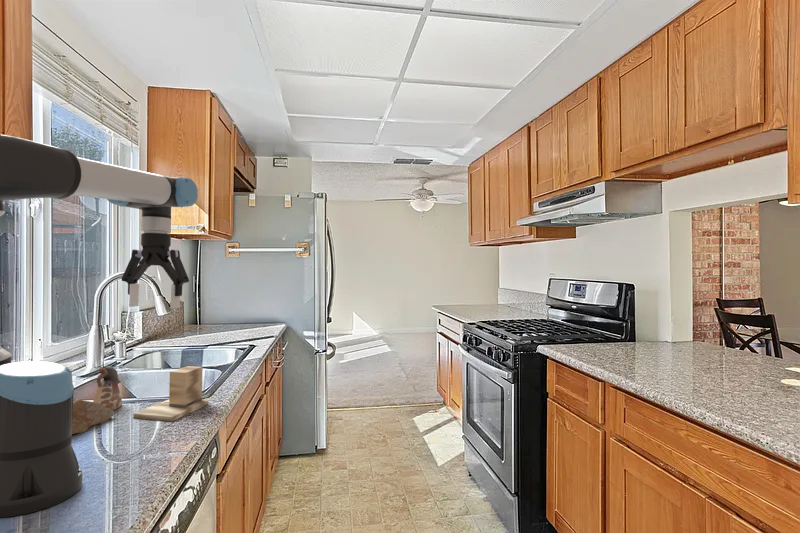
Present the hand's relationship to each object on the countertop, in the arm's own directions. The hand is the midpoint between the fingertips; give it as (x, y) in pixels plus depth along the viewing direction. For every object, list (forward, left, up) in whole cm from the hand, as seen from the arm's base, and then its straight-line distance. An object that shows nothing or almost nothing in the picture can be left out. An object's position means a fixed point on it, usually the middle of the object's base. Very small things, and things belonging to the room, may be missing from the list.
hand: (154, 307), depth 130 cm
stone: (-15, +9, -30) cm, 35 cm away
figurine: (+1, +16, -30) cm, 34 cm away
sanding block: (+6, -6, -29) cm, 30 cm away
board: (+2, -5, -30) cm, 30 cm away
